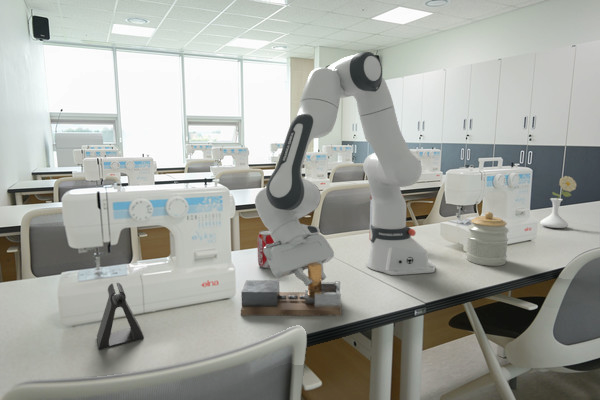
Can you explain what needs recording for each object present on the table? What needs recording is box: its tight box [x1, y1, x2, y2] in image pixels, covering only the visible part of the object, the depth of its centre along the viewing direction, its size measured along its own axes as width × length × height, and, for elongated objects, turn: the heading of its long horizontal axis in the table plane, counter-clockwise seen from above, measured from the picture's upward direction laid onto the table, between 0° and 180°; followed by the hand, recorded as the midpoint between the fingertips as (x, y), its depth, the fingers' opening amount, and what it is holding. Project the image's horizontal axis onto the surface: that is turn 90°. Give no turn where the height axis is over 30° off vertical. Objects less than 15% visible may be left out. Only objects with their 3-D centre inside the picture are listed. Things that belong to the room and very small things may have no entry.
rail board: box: [240, 291, 342, 316], centre depth 102 cm, size 25×11×2 cm, turn 89°
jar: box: [465, 211, 510, 267], centre depth 137 cm, size 13×13×18 cm
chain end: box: [278, 263, 324, 304], centre depth 102 cm, size 16×5×10 cm, turn 89°
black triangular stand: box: [96, 282, 145, 351], centre depth 86 cm, size 9×6×12 cm, turn 120°
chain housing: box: [240, 279, 281, 308], centre depth 102 cm, size 9×8×4 cm
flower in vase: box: [539, 175, 577, 229], centre depth 186 cm, size 13×11×25 cm
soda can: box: [257, 229, 274, 269], centre depth 133 cm, size 7×7×12 cm
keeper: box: [315, 280, 342, 307], centre depth 102 cm, size 7×8×5 cm
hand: (316, 281), depth 101 cm, fingers closed on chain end, 3 cm apart
